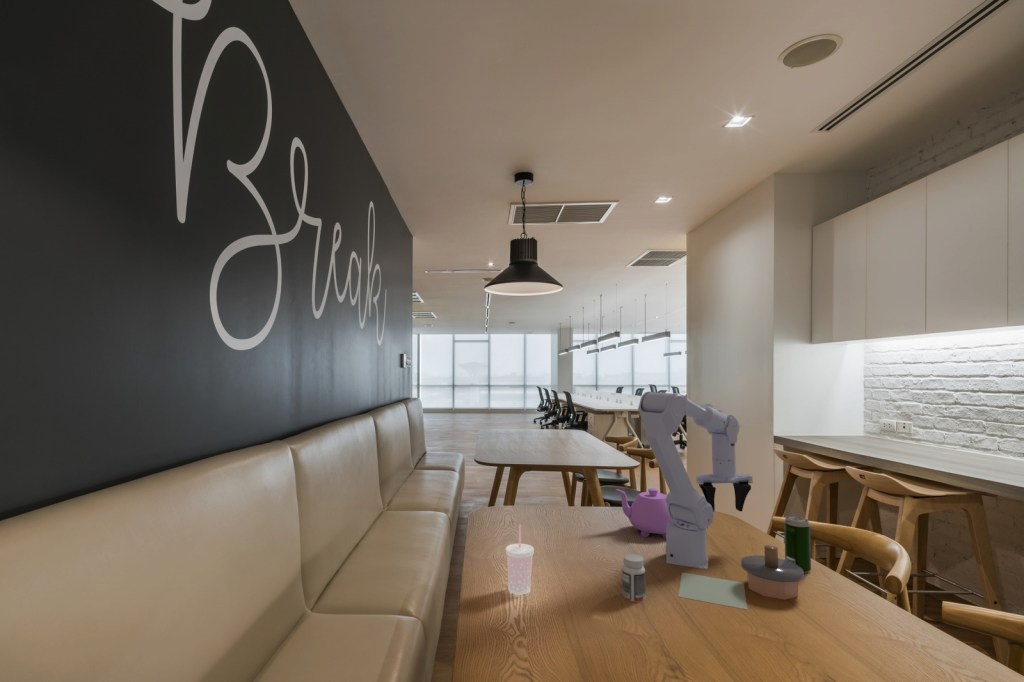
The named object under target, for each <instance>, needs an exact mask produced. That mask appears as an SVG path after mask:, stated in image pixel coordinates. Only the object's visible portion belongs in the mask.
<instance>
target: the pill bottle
mask: <svg viewBox="0 0 1024 682" xmlns="http://www.w3.org/2000/svg"><path fill="white" fill-rule="evenodd" d="M622 563H623V565H622V566H621V567H622V570H621V580H622V581H621V582H622V584H621V585H622V587H621V590H622V591H621V592H622V593H621V594H622V597H623V598H624V599H625V600H626V601H627V600H628V601H630V602H636V603H637V602H638V603H639V602H643V601H645V600H646V598H647V597H646V568H645V567H644V558H643V556H641V555H639V554H636V553H635V554H634V553H628V554H624V556H623V562H622Z"/></svg>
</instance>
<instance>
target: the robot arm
mask: <svg viewBox="0 0 1024 682" xmlns="http://www.w3.org/2000/svg"><path fill="white" fill-rule="evenodd" d="M713 407H714V406H713V405H712V404H710V403H705V404H702V405H701V404H700V405H698V404H697V403H696V402H693V401H692V400H690V399H688V397H687V395H684V394H681V393H679V392H675V393H670V392H653V391H646V392H644V393H643V394H642V396H641V398H640V401H639V403H638V408H637V410H638V412H639V415H640V417H641V419H642V422H643V425H644V431H645V436H646V439H647V441H648V444H649V447H650V448H651V449H650V450H651V451H652V453H653V456H654V458H655V461H656V462H657V464H658V467H659V469H660V472H661V474H662V476H663V478H664V481H665V483H666V485H667V488H668V490H669V492H668V493H667V494H666V495H667V497H666V499H665V500H666V502H667V507H668V514H669V516H670V517H671V518H672V523H667V529H666V538H665V543H666V544H665V554H666V555H665V557H666V559H665V562H666V564H670V565H671V564H672V565H678V566H683V567H689V568H696V569H701V570H708V569H709V557H708V556H707V535H706V534H707V533H706V531H707V530H708V529H709V528H710V526H711V525H712V524H713V520H714V516H715V515H714V513H715V509H716V508H715V507H716V505H715V497H716V492H717V488H716V487H715V486H714V485H713V484H732V486H733V489H734V491H733V492H734V498H735V499H734V501H735V502H734V503H735V510H737V511H739V512H743V510H744V505H745V501H746V499H747V496H748V494H749V492H750V491H751V490H752V485H751V484H753V475H751V474H743V473H742V474H740V473H739V474H738V473H737V471H736V469H737V466H736V463H737V462H736V443H737V441H738V435H739V432H740V427H741V426H740V424H739V420H738V419H737V417H735V416H734V415H732V414H731V415H730V414H725V413H723V410H720V409H715V408H713ZM685 416H687V417H690V418H692V420H693V422H694V423H695V424H696V425H697V426H699V427H701V428H704V429H706V431H707V433H708V434H709V435H711V454H712V456H711V459H712V460H711V461H712V473H710V474H709V473H708V474H702V475H701V474H700V475H698V474H697V475H696V478H695V479H696V480H695V481H696V483H697V484H698V486H699V488H700V490H701V492H702V493H701V492H700V491H698V490H697V489H695V488H694V486H693V484H692V482H691V480H690V477H689V475H688V472H687V470H686V468H685V464H684V463H683V461H682V457H681V455H680V453H679V451H678V448H677V446H676V444H675V442H674V439H673V437H672V435H673V434H675V433H677V431H678V429H679V427H680V425H681V423H682V421H683V419H684V417H685ZM706 529H707V530H706Z"/></svg>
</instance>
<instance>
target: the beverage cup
mask: <svg viewBox="0 0 1024 682" xmlns="http://www.w3.org/2000/svg"><path fill="white" fill-rule="evenodd" d="M534 551H535V548H534V546H532V545H530V544H528V543H522V524H518V543H511V544H509V545H507V546H506V547H505V553H506V556H507V557H506V561H507V583H508V592H509V591H510V592H511V593H513V594H516V595H522V594H527V593H529V592H530V593H531V588H532V587H531V585H532V584H531V582H532V572H533V571H532V569H533V557H534V556H533V555H534V553H535V552H534ZM530 593H529V594H530Z"/></svg>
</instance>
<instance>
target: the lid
mask: <svg viewBox="0 0 1024 682" xmlns="http://www.w3.org/2000/svg"><path fill="white" fill-rule="evenodd" d="M763 549H764V551H763V552H764V553H763V554H764V555H747V556H744V557H743V558H742V557H741V560H740V567H741V568H742V569H743V570H744V571H745V572H746V573H747V572H748V573H750V574H752V575H754V576H757V577H760V578H763V579H767V580H772V581H778V582H797V581H798V582H800V581H802V580H803V579H804V578H805V574H804V571H803V570H802V568H800V567H799V566H797V565H796V564H794V563H791V562H789V561H786V560H785V559H782V558H779V548H778V546H777V547H776V546H775V545H770V544H766V545H764V548H763Z"/></svg>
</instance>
